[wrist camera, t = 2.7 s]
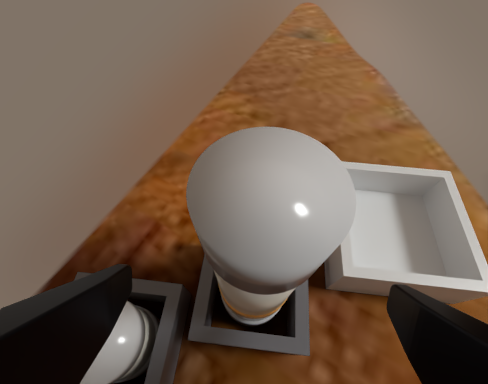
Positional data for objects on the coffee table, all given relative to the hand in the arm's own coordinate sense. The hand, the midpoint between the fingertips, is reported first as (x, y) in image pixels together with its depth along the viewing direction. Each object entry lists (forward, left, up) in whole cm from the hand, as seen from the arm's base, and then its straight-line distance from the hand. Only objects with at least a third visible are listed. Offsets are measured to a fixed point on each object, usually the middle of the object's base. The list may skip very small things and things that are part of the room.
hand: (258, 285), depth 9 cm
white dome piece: (-2, +7, -9) cm, 11 cm away
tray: (+6, -9, -9) cm, 14 cm away
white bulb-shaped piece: (+1, 0, -9) cm, 9 cm away
